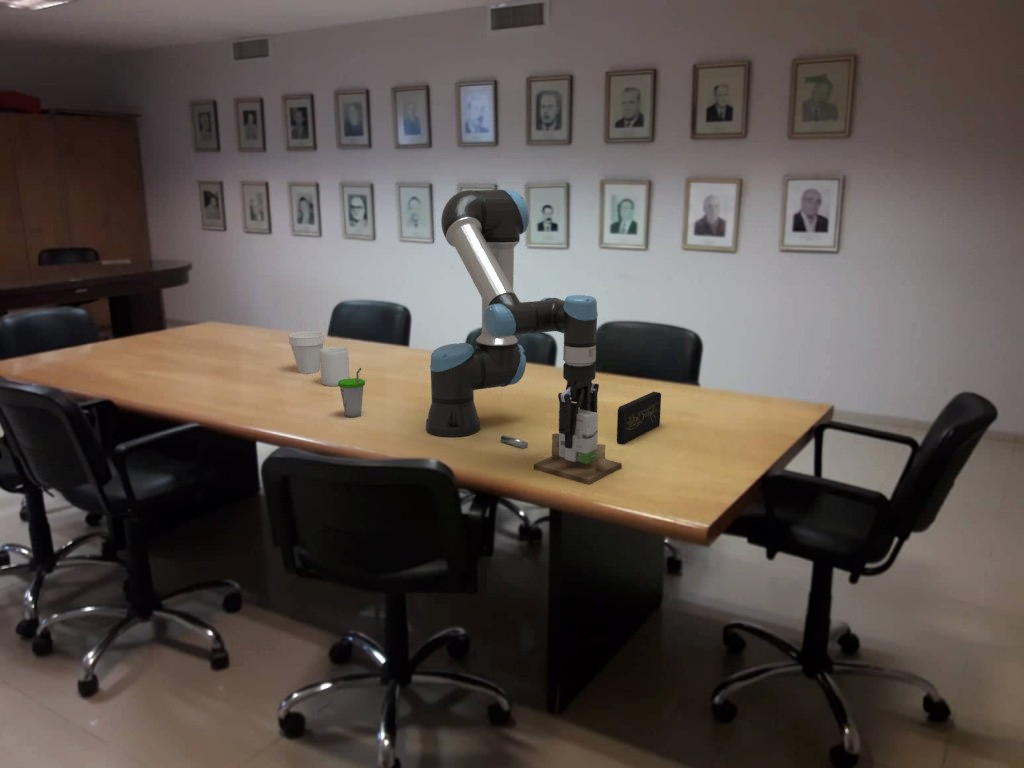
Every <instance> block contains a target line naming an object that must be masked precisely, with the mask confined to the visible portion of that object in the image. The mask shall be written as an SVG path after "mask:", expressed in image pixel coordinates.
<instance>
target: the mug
mask: <svg viewBox="0 0 1024 768" xmlns="http://www.w3.org/2000/svg"><path fill="white" fill-rule="evenodd" d="M349 360H350V359H349V348H347V347H345V346H331V347H323V348H322V349H320V365H319V367H320V378H321V379H320V380H321V384H322V385H323V386H326V387H339V386H338V382H339V381H340V380H343V379H351V378H350V361H349Z"/></svg>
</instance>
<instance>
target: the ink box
mask: <svg viewBox="0 0 1024 768" xmlns="http://www.w3.org/2000/svg"><path fill="white" fill-rule="evenodd" d="M598 414H599V413H598V412H597V413H596V412H591V411H587V410H582V409H578V414H577V421H576V427H575V433H574V434H575V435H577V443H576V461H578V462H582V463H585V464H587V463H590V462H592V461H594V460H596V453H597V445H598V426H599V425H598V421H599V420H598V419H599V415H598ZM558 434H559V456H560V457H564V458H565V435H564V434H562V433H559V432H558Z"/></svg>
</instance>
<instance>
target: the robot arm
mask: <svg viewBox="0 0 1024 768" xmlns="http://www.w3.org/2000/svg"><path fill="white" fill-rule="evenodd" d="M529 216H530V215H529V209H528V206H527V203H526V200H525V199H524V197H523V196H522V195H521V194H520V192H518V191H515V190H510V189H503V188H502V189H485V190H484V189H482V190H481V189H479V190H474V189H467V190H463V191H460V192H457V193H455V194H454V195H453V196H451V197H450V199H449V200H448V201H447V202H446V204H445V206H444V208H443V211H442V213H441V219H440V220H441V221H440V222H441V225H440V226H441V230H442V233H443V236H444V238H445V240H446V242H447V243H448V245H450V246H451V247H453V248H454V249H455V250H456V252H457V254H458V255H459V258H460V259H461V262H462V263H463V266H464V267H465V269H466V270H467V273H468V275H469V276H470V278H471V280H472V282H473V284H474V287H475V288H476V289H477V292H478V293H479V295H480V297H481V334H480V335H479V336H478V337H477V338H476V339H475V340H476V344H475V347H473V345H472V344H470V343H466V342H465V343H464V342H459V343H449V344H446V345H445V344H444V345H442V346H439V347H437V348H436V349H434V350H433V351H432V353H431V355H430V365H429V370H430V384H431V385H430V387H431V404H430V407H429V409H428V416H427V418H426V421H425V430H426V432H427V433H429V434H430V435H434V436H438V437H447V438H448V437H451V438H453V437H465V436H469V435H474V434H476V433H477V432H479V431H480V430H481V419H480V417H479V415H478V411H477V407H476V405H475V400H474V399H475V398H474V395H475V393H474V392H475V391H477V390H478V391H479V390H486V389H492V388H505V387H507V386H512V385H516V384H518V383H519V382H520V380H522V378H523V377H524V374H525V371H526V367H527V366H526V365H527V357H526V355H525V350H524V347H523V346H522V345H521V344H520V343H519V339H518V338H517V337H516V336H520V335H530V334H539V333H540V334H541V333H548V332H549V333H551V332H558V333H561V334H563V352H562V353H563V356H562V357H563V359H562V360H563V361H564V363H563V367H562V368H563V370H562V371H563V373H562V374H563V375H562V377H563V379H564V380H565V381H566V387H565V390H564V391H563V392H558V395H557V396H558V397H557V399H558V403H559V408H558V409H559V410H558V434H559V433H562V434H564V435H565V460H569V461H573V462H575V461H576V443H577V435H575V434H574V433H575V427H576V421H577V414H578V409H582V410H587V411H591V412H596V413H598V392H599V388H600V384H599V383H595V382H593V381H594V380H596V371H597V370H596V369H597V367H596V366H597V365H596V363H595V362H596V358H597V332H598V331H597V330H598V329H597V328H598V307H597V306H598V305H597V304H598V302H597V299H596V298H595V297H594V296H592V295H584V294H575V295H568V296H566V297H565V299H564V300H563V299H561V298H558V297H544V298H542V299H540V300H535V301H520V300H519V298H518V296H517V294H516V293H515V291H514V272H515V271H514V265H515V264H514V263H515V262H514V261H515V259H514V257H515V254H514V253H515V247H516V246H517V245H518V244H519V243H520V242H521V241H520V239H521V237H520V236H521V235H523V234H524V233H525V232H526V231H527V230H528V226H529V223H530V221H529V220H530V217H529Z"/></svg>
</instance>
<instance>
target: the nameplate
mask: <svg viewBox="0 0 1024 768" xmlns="http://www.w3.org/2000/svg"><path fill="white" fill-rule="evenodd" d="M661 403H662V393H661V392H658V391H651V392H650V393H647V394H645V395H643V396H641V397H638V398H636V399H634V400H631V401H629V402H627V403H624V404H622V405H620V406H619V407H618V409H617V417H616V418H617V421H616V422H617V425H616V443H618V444H623V445H625V444H627V443H629V442H631V441H633V440H635V439H637V438H638V437H641V436H643V435H646V433H648V432H651V431H652V430H655V429H656V428H658V427H659V426H660V424H661V408H662V407H661V406H662V405H661Z"/></svg>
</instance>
